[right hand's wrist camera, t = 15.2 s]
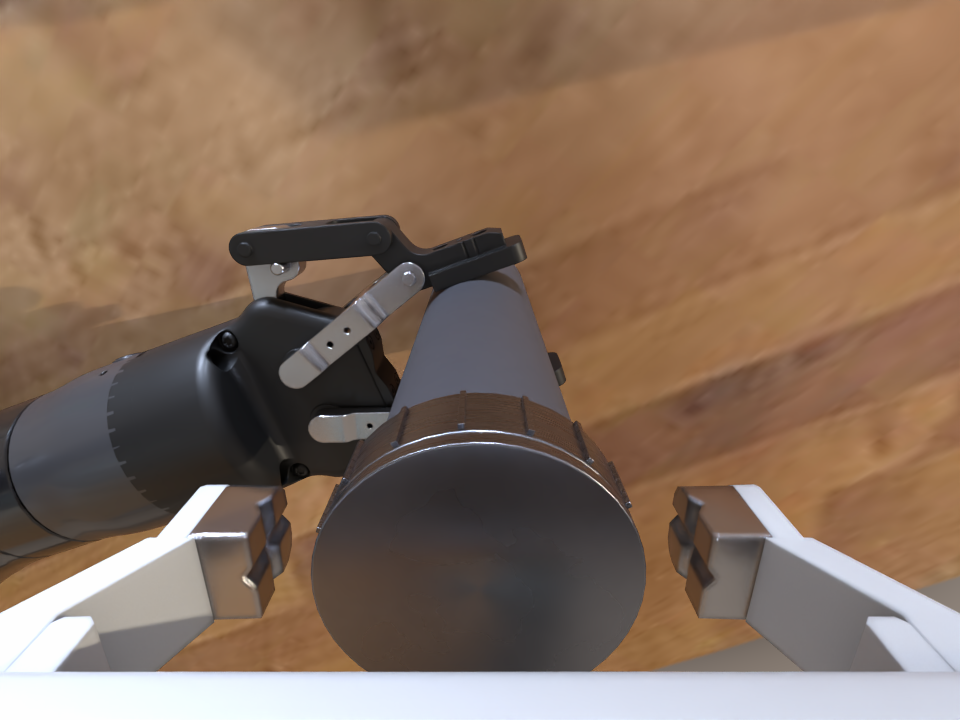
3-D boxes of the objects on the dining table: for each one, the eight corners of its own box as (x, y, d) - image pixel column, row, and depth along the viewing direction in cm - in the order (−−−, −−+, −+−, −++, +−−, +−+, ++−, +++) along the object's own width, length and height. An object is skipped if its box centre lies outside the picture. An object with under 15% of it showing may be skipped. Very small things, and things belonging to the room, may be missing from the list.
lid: (276, 501, 10) (236, 571, 9) (501, 327, 9) (506, 368, 7) (461, 662, 12) (458, 748, 10) (675, 534, 11) (712, 607, 9)
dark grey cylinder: (476, 228, 26) (468, 392, 8) (542, 290, 27) (667, 556, 9) (416, 296, 28) (291, 570, 9) (482, 352, 29) (487, 695, 10)
